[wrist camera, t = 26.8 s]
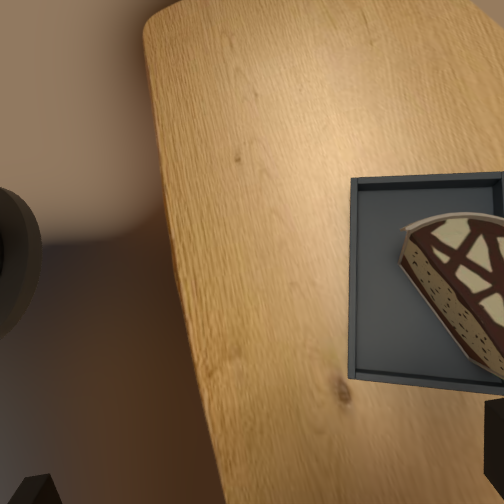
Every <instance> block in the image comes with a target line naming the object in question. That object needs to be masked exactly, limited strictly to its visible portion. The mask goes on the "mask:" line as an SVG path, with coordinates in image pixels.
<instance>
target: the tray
mask: <svg viewBox="0 0 504 504" xmlns="http://www.w3.org/2000/svg"><path fill="white" fill-rule="evenodd" d="M458 212H472V213H484V214H488V215H493V216H498V217H502V218H504V171H503V172H477V173H453V174H429V175H406V176H382V177H358V178H351V195H350V260H349V325H348V379H356V380H364V381H373V382H383V383H392V384H401V385H410V386H419V387H429V388H438V389H447V390H456V391H465V392H474V393H484V394H493V395H502V396H504V380H503V379H501V378H499V377H497V376H496V375H494V374H492V373H490V372H489V371H487V370H485V369H483V368H482V367H480V366H478V365H476V364H475V363H473V362H471V361H469V360H468V359H467V357H466V356H465V355H464V353H463V352H462V351H461V349H460V348H459V346H458V345H457V344H456V342H455V341H454V340H453V338H452V337H451V336H450V334H449V333H448V332H447V330H446V329H445V327H444V326H443V325H442V323H441V322H440V321H439V319H438V318H437V317H436V315H435V314H434V312H433V311H432V310H431V308H430V307H429V306H428V304H427V303H426V302H425V300H424V299H423V298H422V296H421V295H420V293H419V292H418V291H417V289H416V288H415V287H414V285H413V284H412V283H411V281H410V280H409V278H408V277H407V276H406V274H405V273H404V272H403V270H402V269H401V268H400V266H399V265H398V260H399V257H400V254H401V251H402V247H403V244H404V241H405V237H406V234H407V231H400V229H402V228H403V227H405V226H407V225H409V224H411V223H414V222H416V221H419V220H422V219H425V218H428V217H432V216H436V215H442V214H447V213H458Z"/></svg>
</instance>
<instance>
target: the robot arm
mask: <svg viewBox="0 0 504 504" xmlns="http://www.w3.org/2000/svg"><path fill="white" fill-rule="evenodd" d="M3 260H4V247H3V240H2V236H1V233H0V275H1V272H2V267H3ZM484 475H485V476H486V477H487V479H488V480H489V481H490V483H491V484H492V485H493V486H494V488H495V489H496V490H497V492H498V493H499V494H500V496H501V497H502V498H503V500H504V398H500V399H494V400H488V401H485V414H484ZM8 504H62V502H61V499H60V497H59V494H58V492H57V490H56V487H55V485H54V482H53V480H52V478H51V475H50V474H44V475H38V476H32V477H26V478H24V480H23V481H22V483H21V484H20V486H19V487H18V489H17V490H16V492H15V493H14V495H13V496H12V498H11V499H10V501H9V502H8Z"/></svg>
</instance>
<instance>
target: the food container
mask: <svg viewBox="0 0 504 504" xmlns="http://www.w3.org/2000/svg"><path fill="white" fill-rule="evenodd" d="M400 231H407V234H406V237H405V241H404V244H403V247H402V251H401V254H400V257H399V260H398V265H399V266H400V268H401V269H402V270H403V272H404V273H405V274H406V276H407V277H408V278H409V280H410V281H411V283H412V284H413V285H414V287H415V288H416V289H417V291H418V292H419V293H420V295H421V296H422V298H423V299H424V300H425V302H426V303H427V304H428V306H429V307H430V308H431V310H432V311H433V312H434V314H435V315H436V317H437V318H438V319H439V321H440V322H441V323H442V325H443V326H444V327H445V329H446V330H447V332H448V333H449V334H450V336H451V337H452V338H453V340H454V341H455V342H456V344H457V345H458V346H459V348H460V349H461V351H462V352H463V353H464V355H465V356H466V357H467V359H468V360H469V361H471V362H473V363H475V364H476V365H478V366H480V367H482V368H483V369H485V370H487V371H489V372H490V373H492V374H494V375H496V376H497V377H499V378H501V379H503V380H504V218H502V217H498V216H493V215H488V214H484V213H472V212H458V213H447V214H442V215H436V216H432V217H428V218H425V219H422V220H419V221H416V222H414V223H411V224H409V225H407V226H405V227H403V228H402V229H400Z"/></svg>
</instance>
